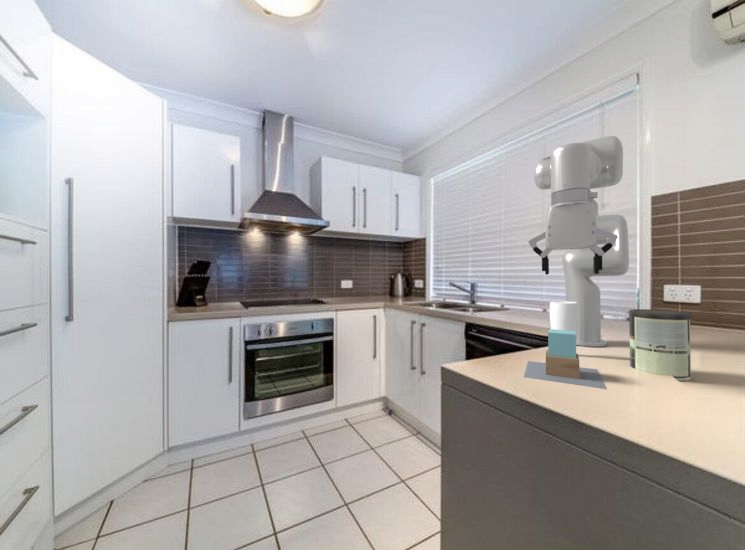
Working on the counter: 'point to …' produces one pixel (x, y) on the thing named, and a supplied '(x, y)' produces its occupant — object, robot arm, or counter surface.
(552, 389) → the counter surface
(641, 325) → the coffee can
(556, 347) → the teal block
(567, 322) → the white cup
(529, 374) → the plate
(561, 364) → the walnut base
